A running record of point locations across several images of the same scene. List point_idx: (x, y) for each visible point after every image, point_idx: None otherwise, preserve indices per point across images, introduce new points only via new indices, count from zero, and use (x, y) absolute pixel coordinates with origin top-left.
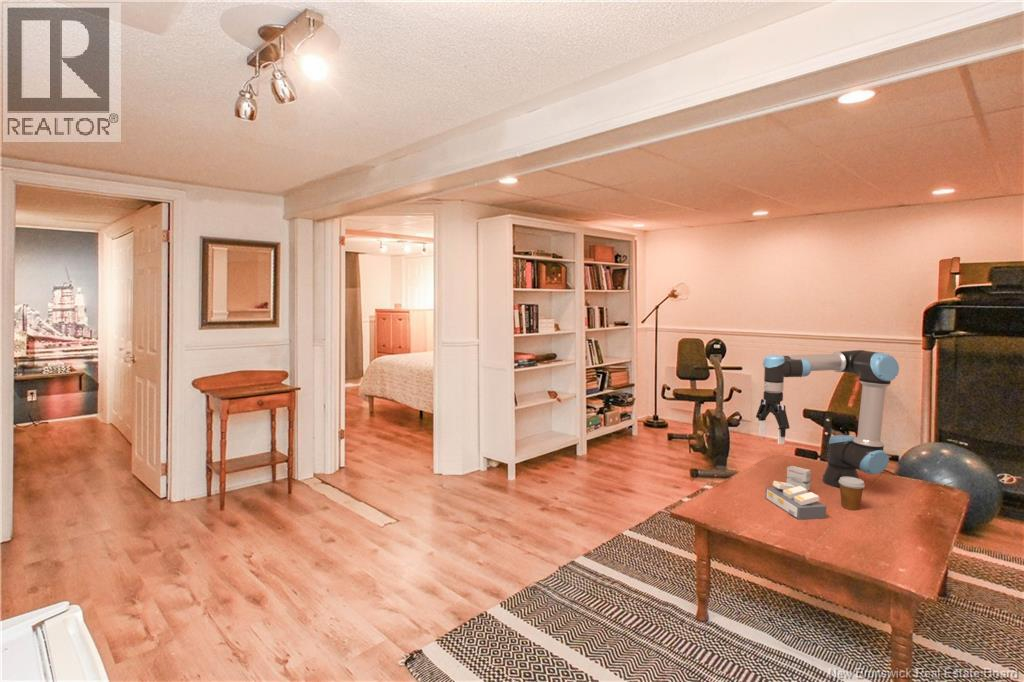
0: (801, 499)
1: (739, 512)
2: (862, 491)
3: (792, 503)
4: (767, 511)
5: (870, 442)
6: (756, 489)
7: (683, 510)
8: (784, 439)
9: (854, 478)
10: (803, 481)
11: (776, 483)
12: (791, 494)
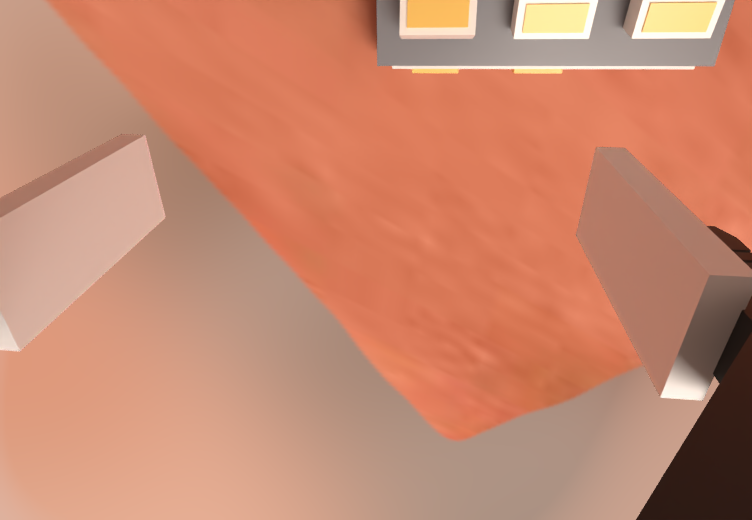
0: (704, 25)
1: (511, 275)
2: None
3: (644, 63)
4: (537, 151)
5: None
6: (248, 23)
7: (445, 431)
8: (648, 178)
9: None
10: None
11: (433, 35)
12: (590, 23)
